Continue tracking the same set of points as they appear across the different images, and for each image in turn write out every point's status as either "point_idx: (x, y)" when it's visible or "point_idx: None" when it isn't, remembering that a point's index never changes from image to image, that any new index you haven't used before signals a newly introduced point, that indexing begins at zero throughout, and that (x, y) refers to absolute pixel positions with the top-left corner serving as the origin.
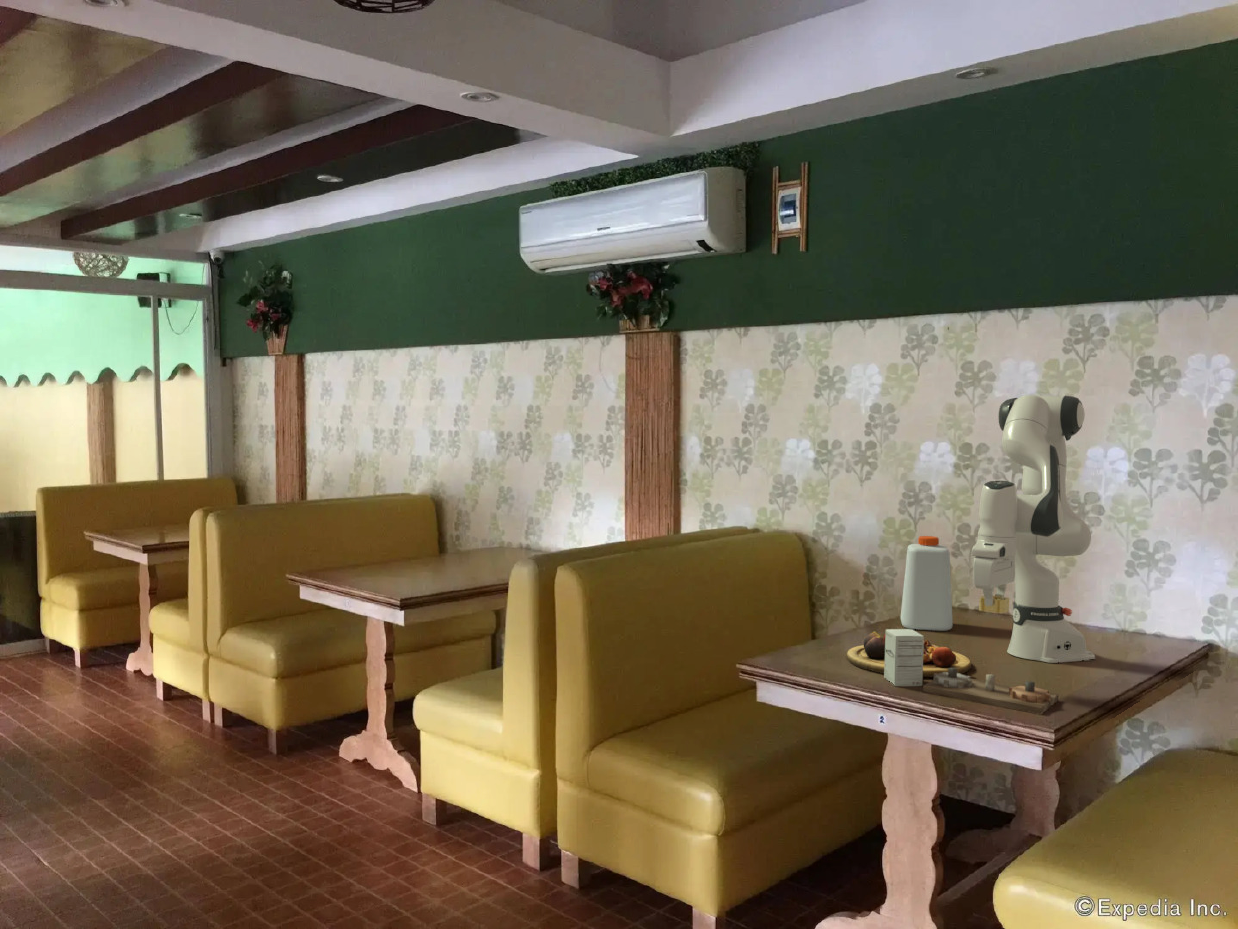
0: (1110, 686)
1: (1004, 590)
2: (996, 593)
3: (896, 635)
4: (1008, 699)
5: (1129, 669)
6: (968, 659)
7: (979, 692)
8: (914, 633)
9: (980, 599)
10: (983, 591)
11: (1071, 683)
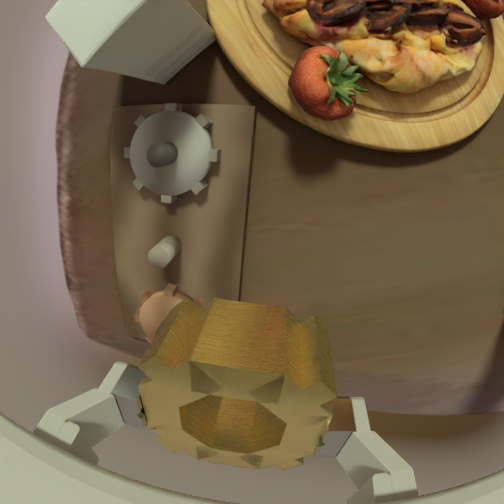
0: (383, 398)
1: (354, 481)
2: (355, 437)
3: (50, 13)
4: (131, 286)
5: (485, 392)
6: (444, 143)
7: (137, 228)
8: (93, 27)
9: (148, 352)
10: (49, 412)
11: (380, 356)
